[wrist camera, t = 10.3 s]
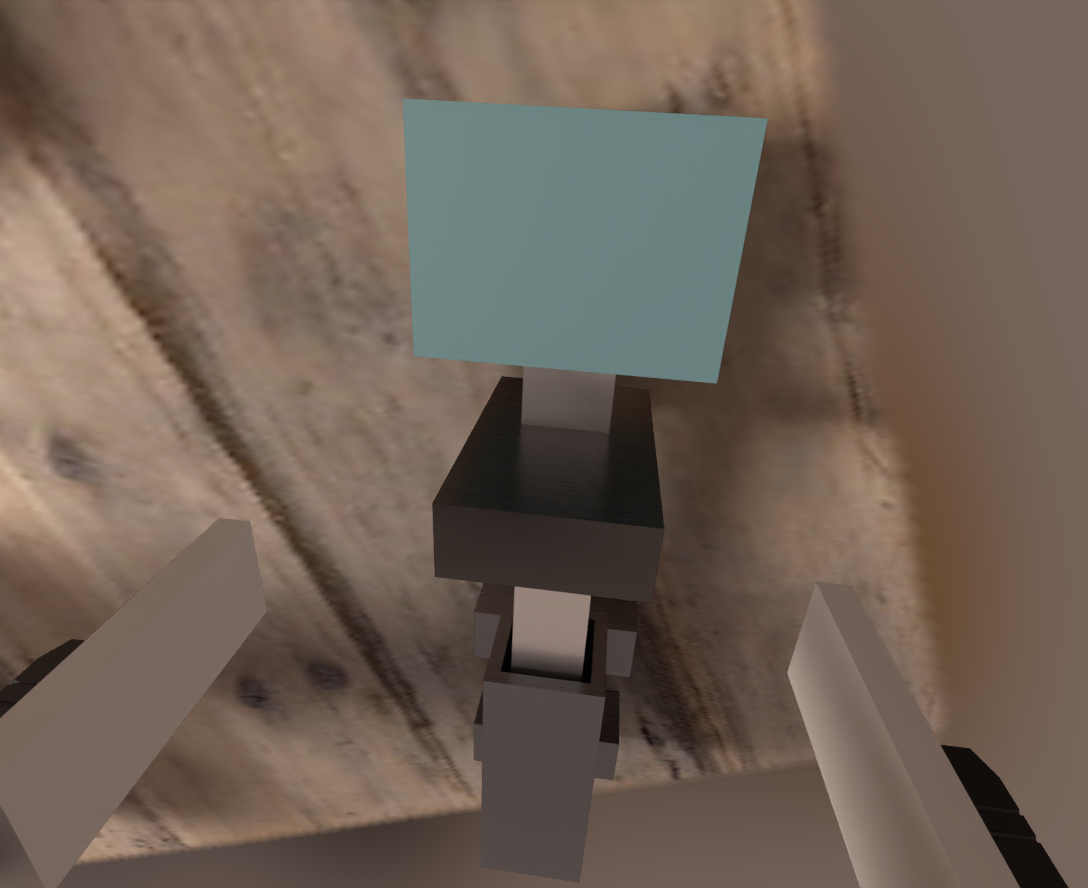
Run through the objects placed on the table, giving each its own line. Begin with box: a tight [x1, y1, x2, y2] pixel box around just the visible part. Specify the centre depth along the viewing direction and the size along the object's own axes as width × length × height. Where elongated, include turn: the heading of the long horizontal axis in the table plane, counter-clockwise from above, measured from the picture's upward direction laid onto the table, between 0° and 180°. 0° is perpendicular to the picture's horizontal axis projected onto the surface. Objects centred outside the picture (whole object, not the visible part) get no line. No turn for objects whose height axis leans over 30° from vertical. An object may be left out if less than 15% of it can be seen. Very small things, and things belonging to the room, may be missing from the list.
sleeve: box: [474, 583, 637, 883], centre depth 31 cm, size 13×8×8 cm, turn 177°
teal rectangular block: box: [403, 99, 768, 383], centre depth 19 cm, size 6×8×11 cm
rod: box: [432, 366, 664, 682], centre depth 22 cm, size 25×6×10 cm, turn 177°
